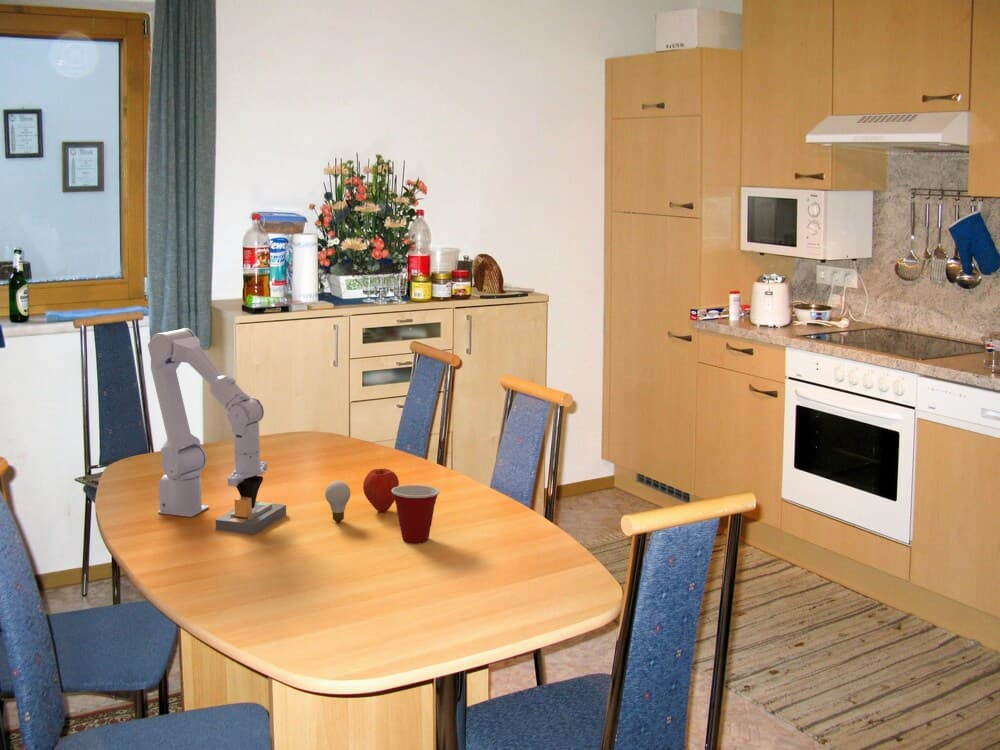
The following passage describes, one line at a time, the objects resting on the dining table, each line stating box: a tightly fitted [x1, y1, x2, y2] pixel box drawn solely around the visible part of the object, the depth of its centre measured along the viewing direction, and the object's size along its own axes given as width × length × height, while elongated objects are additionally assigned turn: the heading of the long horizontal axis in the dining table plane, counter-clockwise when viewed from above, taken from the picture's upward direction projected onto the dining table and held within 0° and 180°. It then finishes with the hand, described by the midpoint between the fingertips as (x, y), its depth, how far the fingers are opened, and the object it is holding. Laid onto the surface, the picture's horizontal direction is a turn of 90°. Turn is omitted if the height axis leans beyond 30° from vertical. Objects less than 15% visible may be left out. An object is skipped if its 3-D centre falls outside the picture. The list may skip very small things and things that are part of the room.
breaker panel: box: [215, 500, 287, 536], centre depth 262 cm, size 10×15×3 cm, turn 162°
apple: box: [362, 468, 400, 513], centre depth 270 cm, size 9×8×11 cm
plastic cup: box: [391, 484, 441, 545], centre depth 251 cm, size 11×11×12 cm
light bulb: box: [324, 480, 351, 523], centre depth 262 cm, size 6×6×10 cm
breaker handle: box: [233, 496, 252, 517], centre depth 258 cm, size 3×2×4 cm
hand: (249, 507), depth 261 cm, fingers closed
